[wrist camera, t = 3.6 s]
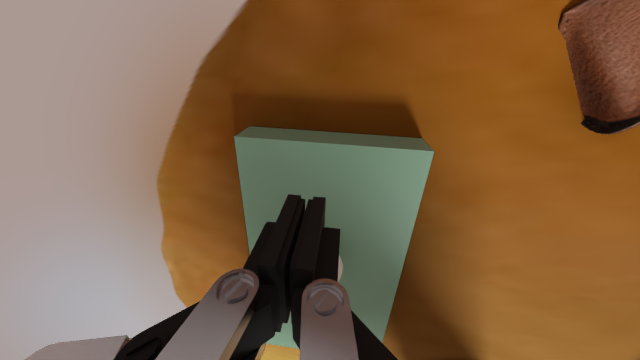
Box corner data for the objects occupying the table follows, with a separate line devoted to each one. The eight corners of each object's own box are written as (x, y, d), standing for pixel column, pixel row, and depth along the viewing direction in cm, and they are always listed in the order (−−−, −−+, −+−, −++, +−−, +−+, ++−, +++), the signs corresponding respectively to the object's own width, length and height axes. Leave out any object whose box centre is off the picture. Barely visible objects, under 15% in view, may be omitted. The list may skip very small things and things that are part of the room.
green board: (375, 334, 30) (377, 361, 28) (269, 319, 32) (261, 342, 29) (422, 138, 18) (434, 151, 16) (250, 126, 20) (233, 136, 17)
